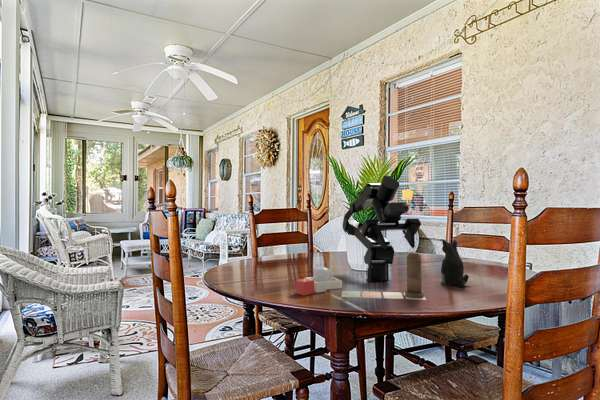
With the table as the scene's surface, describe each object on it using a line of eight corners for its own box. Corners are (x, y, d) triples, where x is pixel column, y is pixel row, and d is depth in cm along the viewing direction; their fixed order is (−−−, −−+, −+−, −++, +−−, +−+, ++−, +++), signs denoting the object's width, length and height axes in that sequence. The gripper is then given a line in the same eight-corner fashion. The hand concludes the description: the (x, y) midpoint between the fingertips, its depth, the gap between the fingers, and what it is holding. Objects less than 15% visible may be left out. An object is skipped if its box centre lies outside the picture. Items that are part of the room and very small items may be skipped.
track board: (422, 294, 114) (422, 292, 114) (428, 303, 104) (428, 300, 104) (341, 292, 117) (341, 289, 117) (339, 300, 107) (339, 297, 107)
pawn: (415, 293, 112) (415, 250, 113) (427, 297, 108) (427, 252, 108) (401, 294, 111) (400, 251, 111) (412, 298, 106) (412, 253, 106)
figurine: (463, 282, 131) (462, 238, 131) (477, 288, 121) (477, 241, 121) (435, 282, 130) (435, 238, 130) (447, 289, 121) (447, 241, 121)
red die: (305, 291, 119) (305, 278, 119) (314, 293, 116) (313, 280, 116) (295, 293, 116) (295, 279, 116) (304, 295, 113) (304, 281, 113)
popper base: (329, 284, 128) (329, 275, 128) (342, 290, 120) (342, 280, 120) (305, 286, 125) (304, 277, 125) (315, 292, 117) (315, 282, 117)
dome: (327, 282, 126) (327, 265, 127) (335, 285, 121) (335, 268, 121) (311, 283, 124) (310, 266, 124) (318, 287, 119) (318, 269, 119)
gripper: (364, 193, 120) (379, 231, 109) (417, 193, 125) (437, 229, 114) (355, 217, 128) (369, 255, 117) (406, 216, 132) (423, 252, 121)
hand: (400, 247), depth 117 cm, fingers open, 9 cm apart
